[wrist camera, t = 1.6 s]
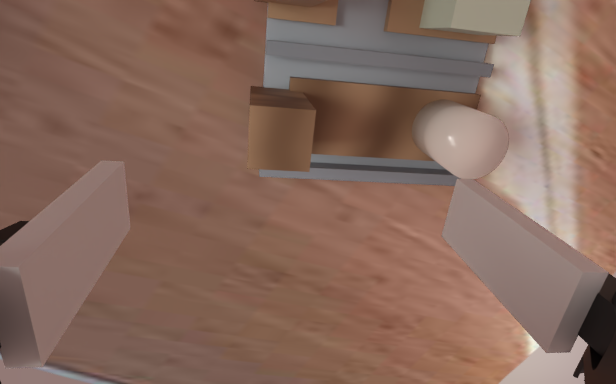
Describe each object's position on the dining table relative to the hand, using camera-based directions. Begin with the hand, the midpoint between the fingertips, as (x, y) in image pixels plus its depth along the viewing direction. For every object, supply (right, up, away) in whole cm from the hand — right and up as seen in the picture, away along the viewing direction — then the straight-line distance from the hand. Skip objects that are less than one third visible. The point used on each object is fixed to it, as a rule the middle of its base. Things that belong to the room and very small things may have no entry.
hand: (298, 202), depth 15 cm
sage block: (+12, +15, +13) cm, 23 cm away
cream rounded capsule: (+12, +6, +17) cm, 21 cm away
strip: (+5, +6, +17) cm, 19 cm away
